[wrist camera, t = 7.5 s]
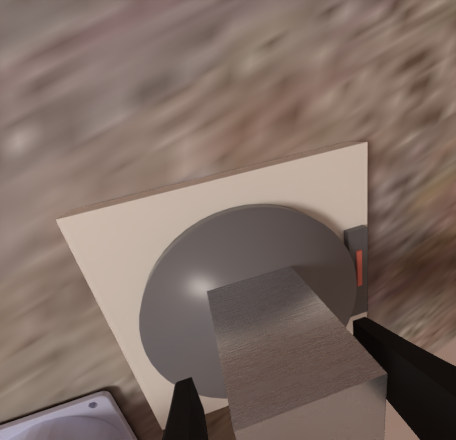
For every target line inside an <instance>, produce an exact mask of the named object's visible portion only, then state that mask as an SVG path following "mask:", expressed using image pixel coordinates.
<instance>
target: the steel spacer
mask: <svg viewBox="0 0 456 440" xmlns="http://www.w3.org/2000/svg"><path fill="white" fill-rule="evenodd" d="M207 295H208V300H209V306H210V311H211V316H212V321H213V326H214V331H215V337H216V342H217V347H218V352H219V357H220V363H221V368H222V373H223V378H224V383H225V389H226V394H227V399H228V404H229V409H230V414H231V420H232V425H233V430H234V434H235V437H236V440H384V430H385V410H386V390H387V373H386V372H385V370H384V369H383V368H382V367H381V366H380V365H379V364H378V363H377V362H376V360H375V359H374V358H373V357H372V356H371V355H370V354H369V353H368V352H367V350H366V349H365V348H364V347H363V346H362V345H361V344H360V343H359V342H358V340H357V339H356V338H355V337H354V336H353V335H352V334H351V333H350V332H349V330H348V329H347V328H346V327H345V326H344V325H343V324H342V323H341V322H340V321H339V319H338V318H337V317H336V316H335V315H334V314H333V313H332V312H331V311H330V309H329V308H328V307H327V306H326V305H325V304H324V303H323V302H322V301H321V299H320V298H319V297H318V296H317V295H316V294H315V293H314V292H313V291H312V289H311V288H310V287H309V286H308V285H307V284H306V283H305V282H304V281H303V279H302V278H301V277H300V276H299V275H298V274H297V273H296V272H295V271H294V269H293V268H292V267H291V266H288V267H284V268H281V269H278V270H275V271H271V272H268V273H265V274H261V275H258V276H255V277H252V278H248V279H245V280H242V281H238V282H235V283H232V284H229V285H225V286H222V287H219V288H215V289H212V290H209V291H207Z"/></svg>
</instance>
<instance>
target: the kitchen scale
mask: <svg viewBox="0 0 456 440" xmlns="http://www.w3.org/2000/svg"><path fill="white" fill-rule="evenodd" d="M56 222H57V224H58V226H59V227H60V229H61V231H62V233H63V235H64V237H65V239H66V241H67V243H68V245H69V247H70V249H71V251H72V253H73V255H74V257H75V259H76V261H77V263H78V265H79V267H80V269H81V271H82V273H83V275H84V277H85V279H86V281H87V283H88V285H89V287H90V289H91V291H92V292H93V294H94V296H95V298H96V300H97V302H98V304H99V306H100V308H101V310H102V312H103V314H104V316H105V318H106V320H107V322H108V324H109V326H110V328H111V330H112V332H113V334H114V336H115V338H116V340H117V342H118V344H119V346H120V348H121V350H122V352H123V354H124V356H125V358H126V359H127V361H128V363H129V365H130V367H131V369H132V371H133V373H134V375H135V377H136V379H137V381H138V383H139V385H140V387H141V389H142V391H143V393H144V395H145V397H146V399H147V401H148V403H149V405H150V407H151V409H152V411H153V413H154V415H155V417H156V419H157V421H158V423H159V424H160V426H161V428H162V430H164V429H165V427H166V422H167V418H168V414H169V410H170V406H171V401H172V397H173V392H174V386H175V384H176V382H178V381H181V380H184V379H187V378H190V377H192V379H193V382H194V384H195V387H196V390H197V392H198V395H199V397H200V400H201V403H202V405H203V408H204V413H205V414H207V413H210V412H213V411H215V410H218V409H221V408H223V407H226V406H229V404H228V399H227V394H226V389H225V383H224V378H223V373H222V368H221V363H220V357H219V352H218V347H217V342H216V337H215V331H214V326H213V321H212V316H211V311H210V306H209V300H208V295H207V291H209V290H212V289H215V288H219V287H222V286H225V285H229V284H232V283H235V282H238V281H242V280H245V279H248V278H252V277H255V276H258V275H261V274H265V273H268V272H271V271H275V270H278V269H281V268H284V267H288V266H291V267H292V268H293V269H294V271H295V272H296V273H297V274H298V275H299V276H300V277H301V278H302V279H303V281H304V282H305V283H306V284H307V285H308V286H309V287H310V288H311V289H312V291H313V292H314V293H315V294H316V295H317V296H318V297H319V298H320V299H321V301H322V302H323V303H324V304H325V305H326V306H327V307H328V308H329V309H330V311H331V312H332V313H333V314H334V315H335V316H336V317H337V318H338V319H339V321H340V322H341V323H342V324H343V325H344V326H345V327H346V328H347V329H348V330H349V332H350V333H351V334H352V335H353V321H354V320H356V319H359V318H362V317H367V311H368V227H367V142H344V143H340V144H336V145H332V146H328V147H324V148H320V149H316V150H312V151H308V152H304V153H300V154H296V155H292V156H288V157H284V158H279V159H275V160H271V161H267V162H263V163H259V164H255V165H251V166H247V167H243V168H239V169H235V170H231V171H227V172H223V173H219V174H215V175H211V176H207V177H203V178H199V179H194V180H190V181H186V182H182V183H178V184H174V185H170V186H166V187H162V188H158V189H154V190H150V191H146V192H142V193H138V194H134V195H130V196H126V197H122V198H118V199H114V200H109V201H105V202H101V203H97V204H93V205H89V206H85V207H81V208H77V209H73V210H70V211H68V212H67V213H65V214H64V215H62V216H61V217H59V218H57V219H56Z"/></svg>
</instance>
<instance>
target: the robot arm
mask: <svg viewBox="0 0 456 440" xmlns="http://www.w3.org/2000/svg"><path fill="white" fill-rule="evenodd" d="M353 336H354V337H355V338H356V339H357V340H358V342H359V343H360V344H361V345H362V346H363V347H364V348H365V349H366V350H367V352H368V353H369V354H370V355H371V356H372V357H373V358H374V359H375V360H376V362H377V363H378V364H379V365H380V366H381V367H382V368H383V369H384V370H385V372H386V373H387V390H386V399H387V400H388V402H389V403H390V404H391V405H392V406H393V408H394V409H395V410H396V411H397V412H398V414H399V415H400V416H401V417H402V418H403V419H404V421H405V422H406V423H407V424H408V426H409V427H410V428H411V429H412V430H413V432H414V433H415V434H416V435H417V436H418V438H419V439H420V440H456V366H454V365H452V364H450V363H448V362H446V361H444V360H442V359H440V358H438V357H437V356H435V355H433V354H431V353H429V352H427V351H425V350H423V349H422V348H420V347H418V346H416V345H414V344H412V343H411V342H409V341H407V340H405V339H404V338H402V337H400V336H398V335H397V334H395V333H393V332H391V331H390V330H388V329H386V328H384V327H383V326H381V325H379V324H377V323H376V322H374V321H372V320H370V319H369V318H367V317H362V318H359V319H356V320H354V321H353ZM0 440H137V438H136V436H135V435H134V433H133V431H132V430H131V428H130V426H129V424H128V423H127V421H126V419H125V418H124V416H123V414H122V412H121V411H120V409H119V407H118V406H117V404H116V402H115V400H114V399H113V397H112V395H111V394H110V393H109V392H107V391H100V392H97V393H94V394H91V395H88V396H86V397H83V398H80V399H77V400H74V401H71V402H68V403H65V404H62V405H59V406H56V407H53V408H50V409H47V410H44V411H41V412H38V413H35V414H32V415H30V416H27V417H24V418H21V419H18V420H15V421H12V422H9V423H6V424H3V425H0ZM162 440H208V434H207V427H206V420H205V413H204V408H203V405H202V403H201V400H200V397H199V395H198V392H197V390H196V387H195V384H194V382H193V379H192V377H190V378H187V379H184V380H181V381H178V382H176V384H175V386H174V392H173V397H172V401H171V406H170V410H169V414H168V418H167V422H166V427H165V430H164V434H163V437H162Z"/></svg>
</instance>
